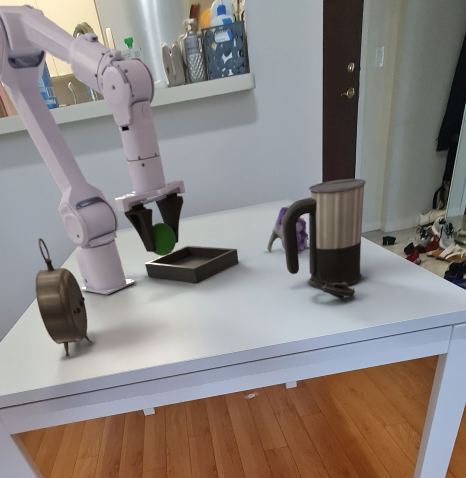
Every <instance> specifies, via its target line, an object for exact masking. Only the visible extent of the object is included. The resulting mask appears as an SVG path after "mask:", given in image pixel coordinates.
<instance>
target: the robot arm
mask: <svg viewBox="0 0 466 478" xmlns="http://www.w3.org/2000/svg"><path fill="white" fill-rule="evenodd" d="M47 54H48V55H50V56H52V57H54V58H56V59H58V60H60V61H62V62H63V63H66V64H67V65H69V66H70V69H71V72H72V74H73V76H74V77H75V79H76V80H78V81H79V82H81V83H83V84H84V85H85V86H87V87H89V88H91V89H92V90H93V91H95V92H97V93H98V94H100V95H101V96H103V99H104V101H105V103H106V105H107V106H108V108H109V109H110V110H111V113H112V116H113V120H114V123H115V124H116V126H118V129H119V133H120V137H121V142H122V145H123V146H122V147H123V150H124V154H125V159H126V163H127V167H128V172H129V175H130V180H131V184H132V188H133V191H131V192H128V193H127V194H124V195H121V196H119V197H116V198H114V201H115V205H116V209H117V212H118V213H123V214H124V217H126V218H127V220H128V221H129V222H130V223H131V225H132V226H133V228H134V229H135V231H136V232H137V234H138V236H139V239H140V240H141V242H142V244H143V246H144V249H145V251H146V252H148V253H154V252H155V251H156V243H155V238H154V233H153V209H152V208H147V207H146V206H145V205H149V204H152V203H154V202H155V204H156V206H157V208H158V211H159V213H160V217H161V219H162V223H165V224H167V225H169V226H170V227H171V228H172V230H173V231H174V233H175V237H176V244H178V243H179V237H180V235H179V232H180V231H179V230H180V218H181V214H182V208H183V205H184V197H183V196H182V195H181V194H185V193H186V189H185V182H184V179H175V180H172V181H168V182H166V178H165V174H164V167H163V163H162V157H161V151H160V146H159V143H158V142H159V141H158V138H157V131H156V127H155V121H154V116H153V111H152V105H151V104H152V103H153V100H154V97H155V90H156V89H155V80H154V78H153V74H152V72H151V70H150V67H149V66H148V65H147V64H146V63H145V61H143V60H142V59H141V58H140V57H131V58H130V59H126V58H125V57H124V56H123V55H122V51H121V50H119V49H117V48H109V47H108V46H107V45H104V44H103V43H101V42H100V41H99V35H97V34H96V33H94V32H85V33H83V34H79V35H78V36H76V37H75V36H74V35H72V34H71V33H69V32H68V31H67V30H65V29H64V28H62V27H61V26H60V25H58V24H57V23H56V22H54V21H53V20H51V19H50V18H48V17H47V16H45V13H44V11H43V10H42V9H39V8H35V7H34V6H33V5H31V4H28V3H27V4H26V3H25V4H22V5H0V82H1V83H2V85H3V87H4V89H5V92H6V94H7V96H8V97H9V99H10V101H11V103H12V105H13V107H14V108H15V110H16V112H17V114H18V116H19V117H20V120H21V121H22V123H23V125H24V127H25V128H26V130H27V132H28V135H29V136H30V138H31V140H32V142H33V143H34V145H35V147H36V149H37V151H38V153H39V154H40V156H41V158H42V161H43V162H44V163H45V165H46V168H47V169H48V171H49V172H50V173H49V174H50V175H51V176H52V178H53V180H54V182H55V183H56V186H57V187H58V189H59V191H60V193H61V195H62V196H61V200H60V202H59V205H58V213H59V215H60V218H61V220H62V223H63V226H64V229H65V232H66V234H67V236H68V238H69V239H70V240H71V241H72V243H74V244H76V247H77V248H76V251H75V258H76V259H75V260H76V263H77V266H78V269H79V272H80V274H81V277H82V280H83V283H84V286H83V287H82V291H85V292H90V293H96V294H101V295H110V294H113V293H114V292H117V291H119V290H122V289H124V288H126V287H128V286H131V285H133V284H135V283H136V281H135V280H134V279H128V278H127V279H126V274H125V270H124V269H123V268H124V267H123V264H122V261H121V256H120V253H119V250H118V246H117V242H116V238H117V237H118V235H117V232H118V229H119V217H118V215H117V212H116V209H115V208H114V207H113V205H112V204H111V203H110V202H109V201H108V200H107V199H106V197H105V195H104V193H103V191H102V190H101V189H100V188H98V187H96V186H94V185H92V184H90V183H88V181H87V180H86V178H85V176H84V174H83V172H82V170H81V168H80V165H79V164H78V162H77V160H76V159H75V157H74V155H73V153H72V150H71V149H70V147H69V145H68V143H67V141H66V139H65V138H64V135H63V133H62V131H61V130H60V127H59V126H58V124H57V122H56V120H55V118H54V116H53V114H52V113H51V110H50V108H49V106H48V105H47V103H46V101H45V99H44V96H43V95H42V93H41V91H40V89H39V82H40V80H41V79H42V78H43V76H44V70H45V64H46V58H47ZM179 194H180V195H179Z"/></svg>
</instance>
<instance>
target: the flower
mask: <svg viewBox="0 0 466 478" xmlns="http://www.w3.org/2000/svg"><path fill="white" fill-rule="evenodd" d="M289 207H290V205H287V206H283V207H280V210H279V212H278V216H277V218H276V220H275V223H274V226H273V227H272V231H271V235H270V237H269V240H268V243H267V250H268V252H269V253H271V252H272V248H273V245H274V242H275V241H276V239H279V240H280V241H281V246H282V248H283V249H284V250H285V245H284V236H283V217H284V214H285V212H286V211H287V209H288V208H289ZM296 234H297V246H298V252H299V251H300V250H301V251H303V250H304V249H307V248H308V241H309V233H308V232H307V222H306V220H305V219H304V217H301V216H300V217H299V219H298V220H297V223H296Z"/></svg>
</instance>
